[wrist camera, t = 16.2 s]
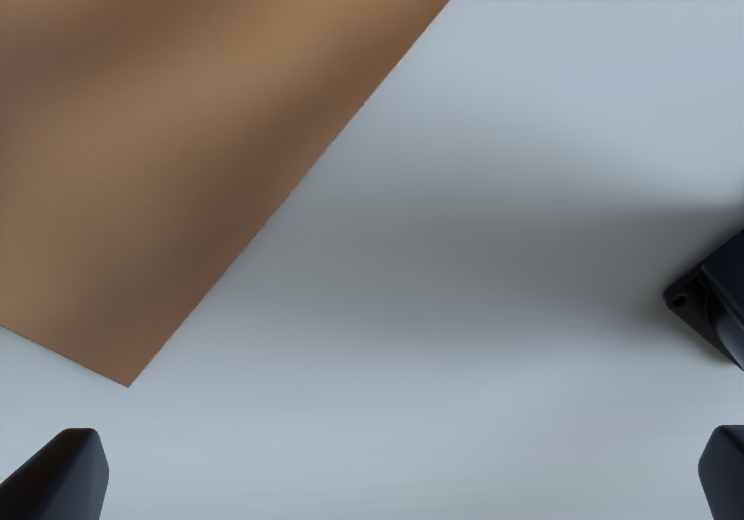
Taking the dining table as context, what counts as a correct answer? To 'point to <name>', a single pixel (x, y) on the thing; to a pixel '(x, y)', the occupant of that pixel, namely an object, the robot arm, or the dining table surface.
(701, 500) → the dining table surface
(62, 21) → the glossy brown placemat
